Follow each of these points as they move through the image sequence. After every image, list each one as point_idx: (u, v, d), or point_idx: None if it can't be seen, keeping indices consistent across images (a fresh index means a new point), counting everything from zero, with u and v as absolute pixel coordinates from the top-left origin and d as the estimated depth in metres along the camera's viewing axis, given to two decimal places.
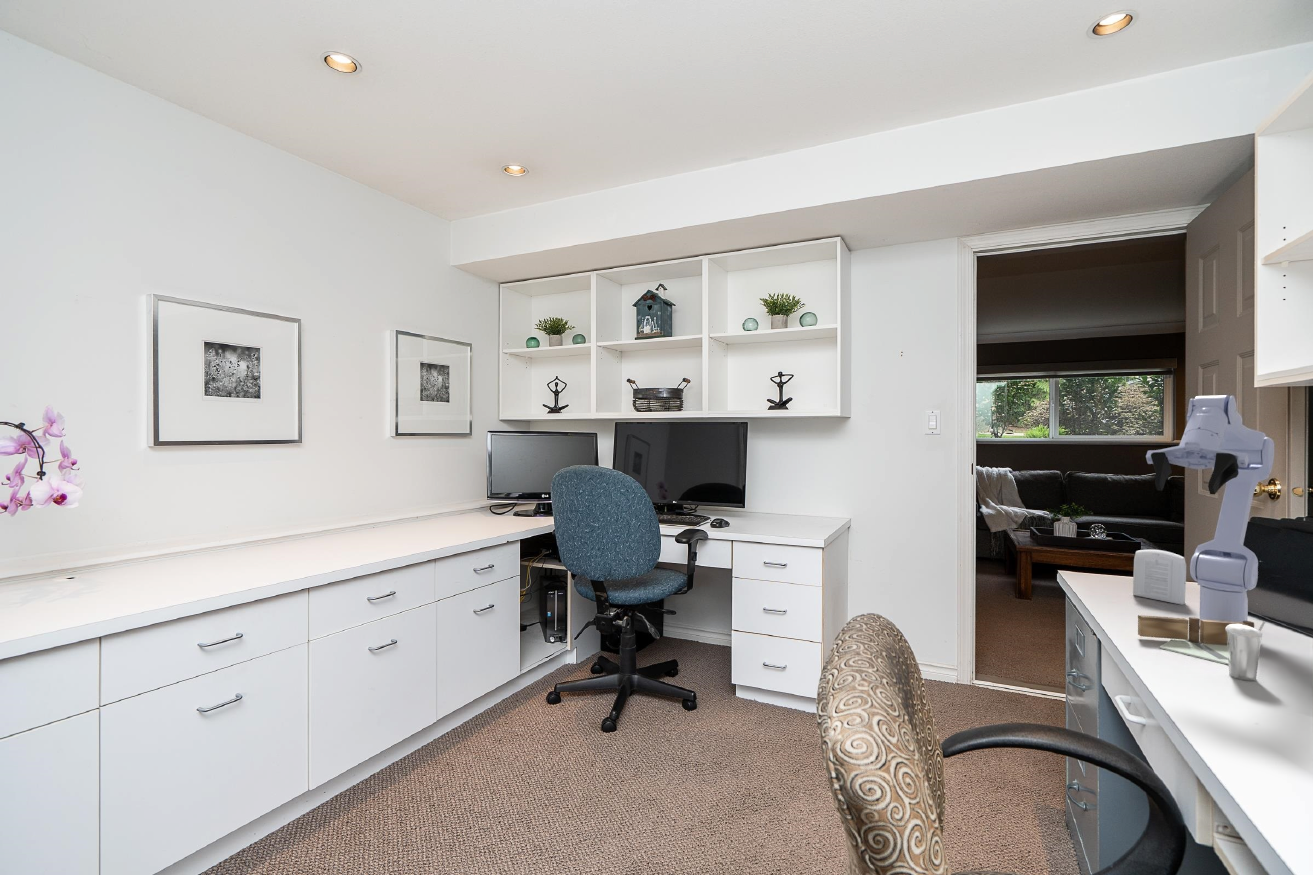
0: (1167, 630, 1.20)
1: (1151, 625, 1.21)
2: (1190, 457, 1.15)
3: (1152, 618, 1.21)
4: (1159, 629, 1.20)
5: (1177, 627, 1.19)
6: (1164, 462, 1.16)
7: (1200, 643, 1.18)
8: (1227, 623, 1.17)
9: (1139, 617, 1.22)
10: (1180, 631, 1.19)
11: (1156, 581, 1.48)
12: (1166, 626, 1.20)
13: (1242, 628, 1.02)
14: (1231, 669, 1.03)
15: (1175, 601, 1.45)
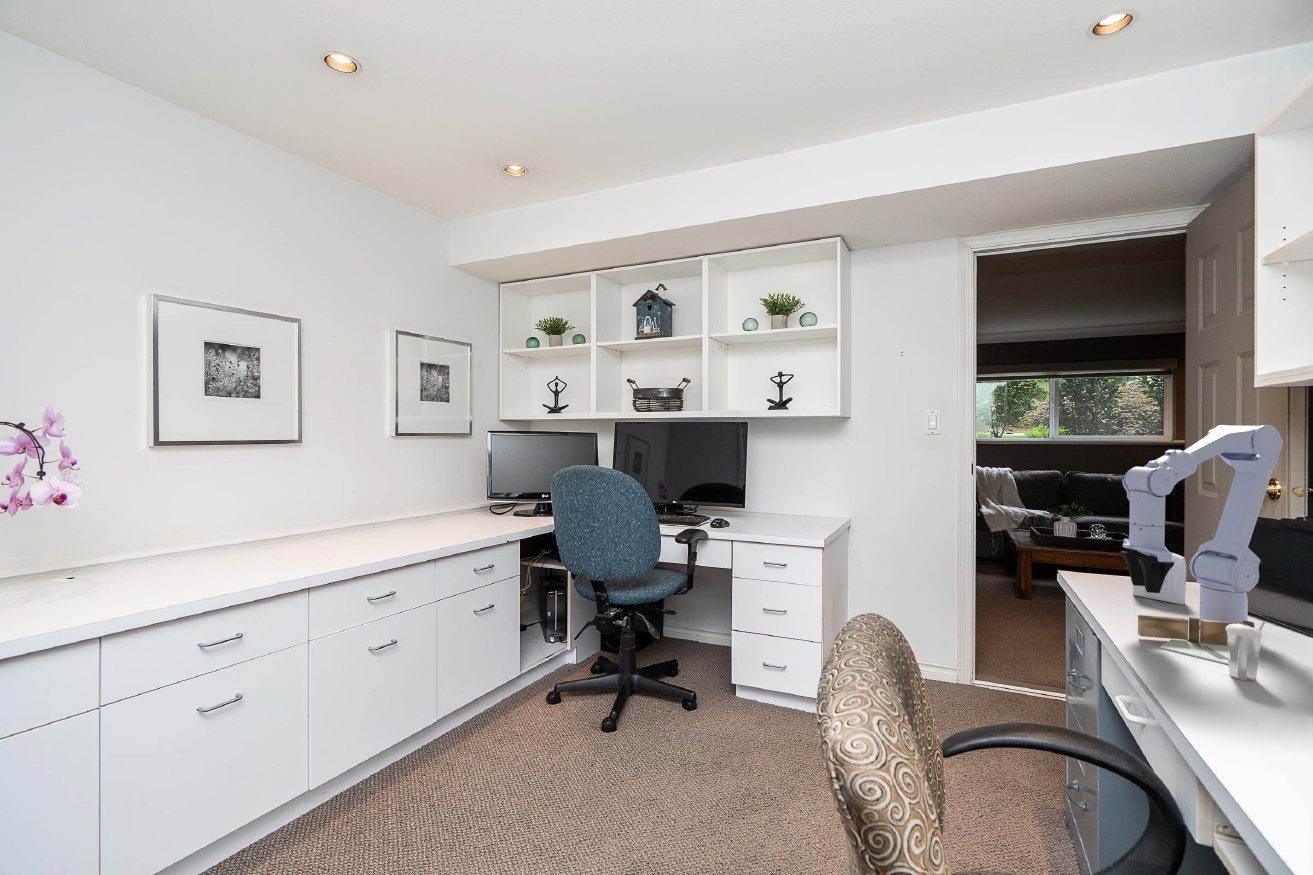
0: (1167, 630, 1.20)
1: (1151, 625, 1.21)
2: None
3: (1152, 618, 1.21)
4: (1159, 629, 1.20)
5: (1177, 627, 1.19)
6: (1130, 560, 1.27)
7: (1200, 643, 1.18)
8: (1227, 623, 1.17)
9: (1139, 617, 1.22)
10: (1180, 631, 1.19)
11: None
12: (1166, 626, 1.20)
13: (1242, 628, 1.02)
14: (1231, 669, 1.03)
15: (1175, 601, 1.45)
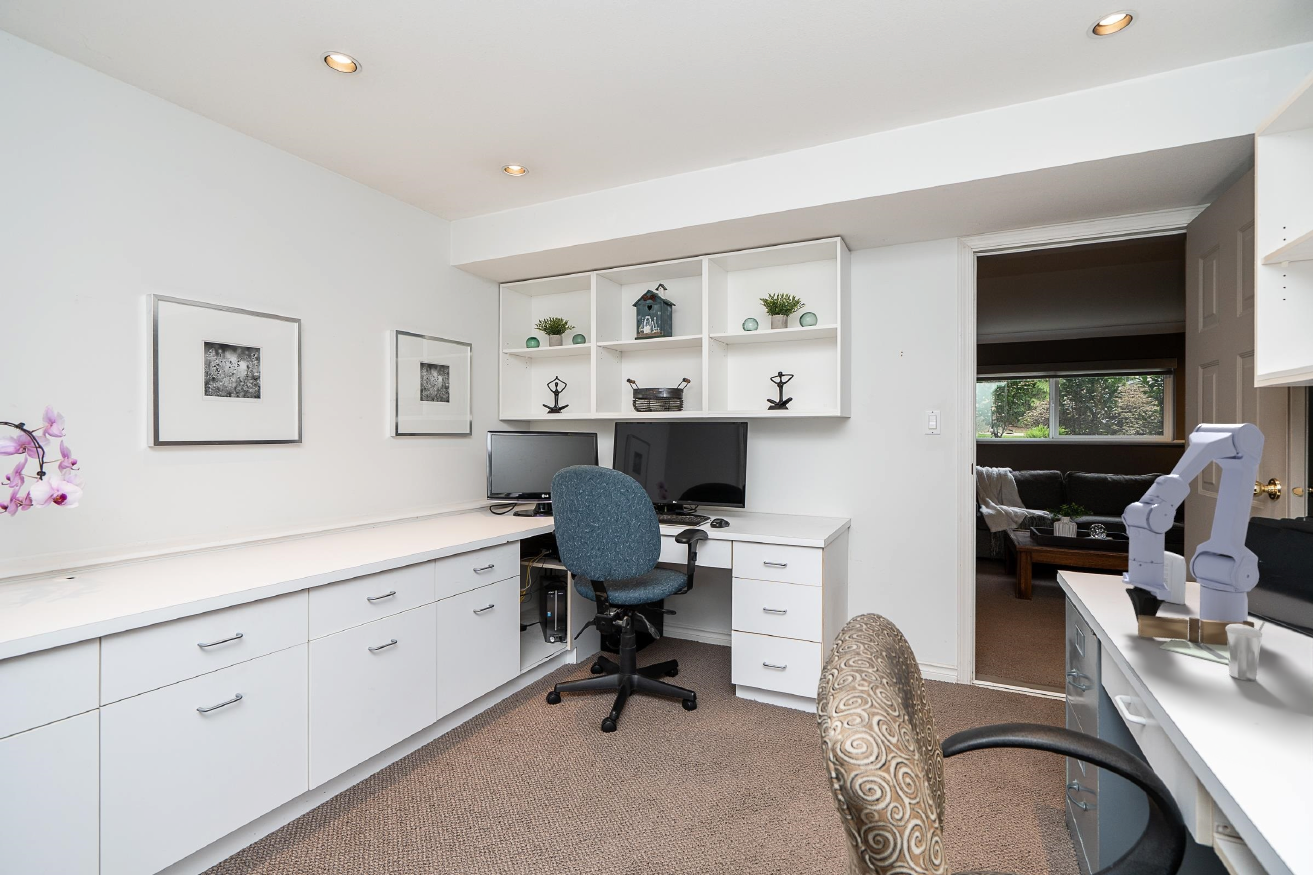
0: (1167, 630, 1.20)
1: (1151, 625, 1.21)
2: None
3: (1152, 618, 1.21)
4: (1159, 629, 1.20)
5: (1177, 627, 1.19)
6: None
7: (1200, 643, 1.18)
8: (1227, 623, 1.17)
9: (1139, 617, 1.22)
10: (1180, 631, 1.19)
11: None
12: (1166, 626, 1.20)
13: (1242, 628, 1.02)
14: (1231, 669, 1.03)
15: (1175, 601, 1.45)
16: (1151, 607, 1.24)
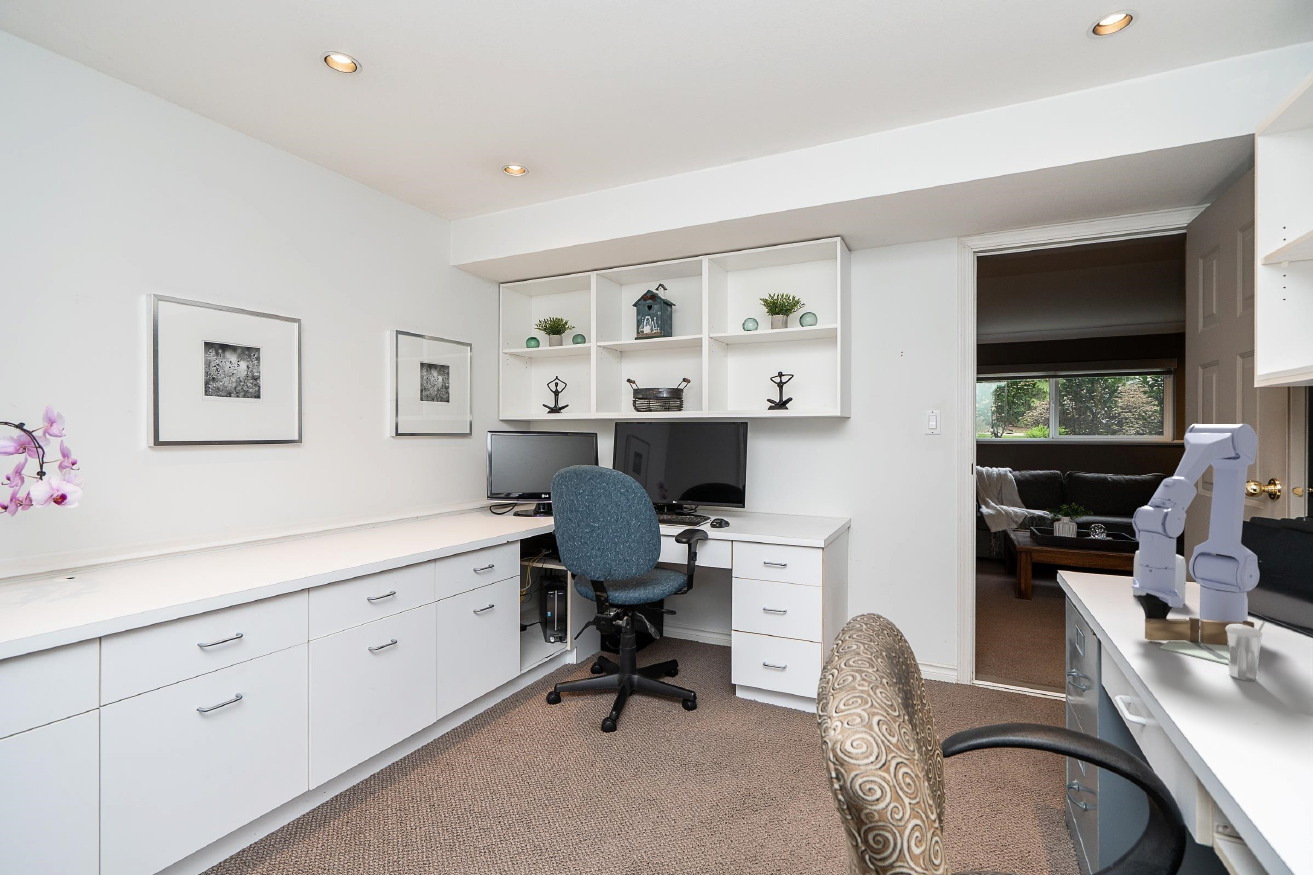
0: (1172, 632, 1.19)
1: (1158, 628, 1.19)
2: None
3: (1159, 621, 1.19)
4: (1165, 632, 1.19)
5: (1181, 628, 1.19)
6: None
7: (1200, 643, 1.18)
8: (1227, 623, 1.17)
9: (1147, 621, 1.19)
10: (1183, 632, 1.19)
11: None
12: (1171, 628, 1.19)
13: (1242, 628, 1.02)
14: (1231, 669, 1.03)
15: None
16: (1160, 613, 1.21)
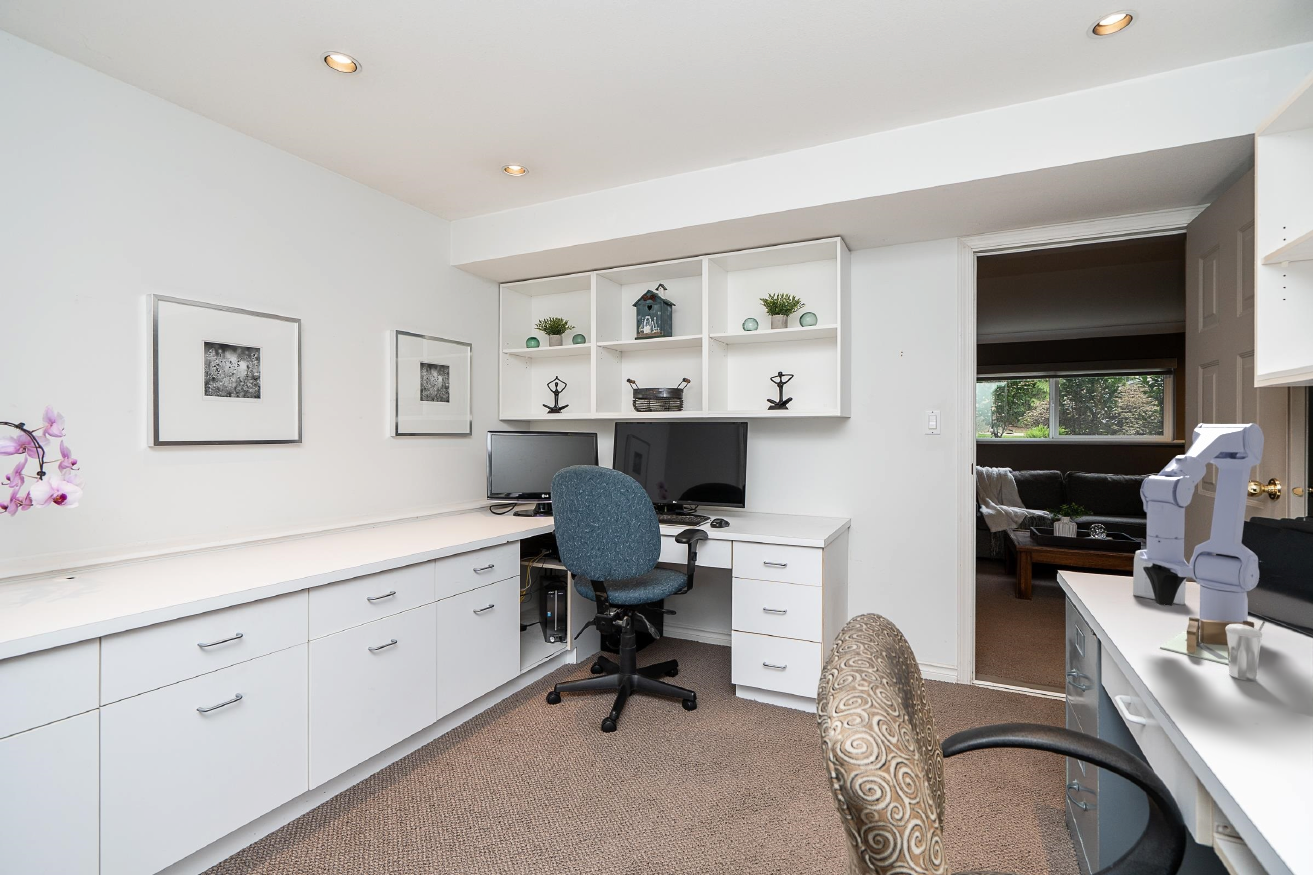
0: (1196, 638, 1.15)
1: None
2: None
3: (1196, 630, 1.14)
4: (1196, 639, 1.14)
5: (1197, 632, 1.17)
6: None
7: (1200, 643, 1.18)
8: (1227, 623, 1.17)
9: (1190, 632, 1.13)
10: (1197, 635, 1.17)
11: None
12: (1196, 634, 1.15)
13: (1242, 628, 1.02)
14: (1231, 669, 1.03)
15: (1175, 601, 1.45)
16: (1171, 586, 1.17)
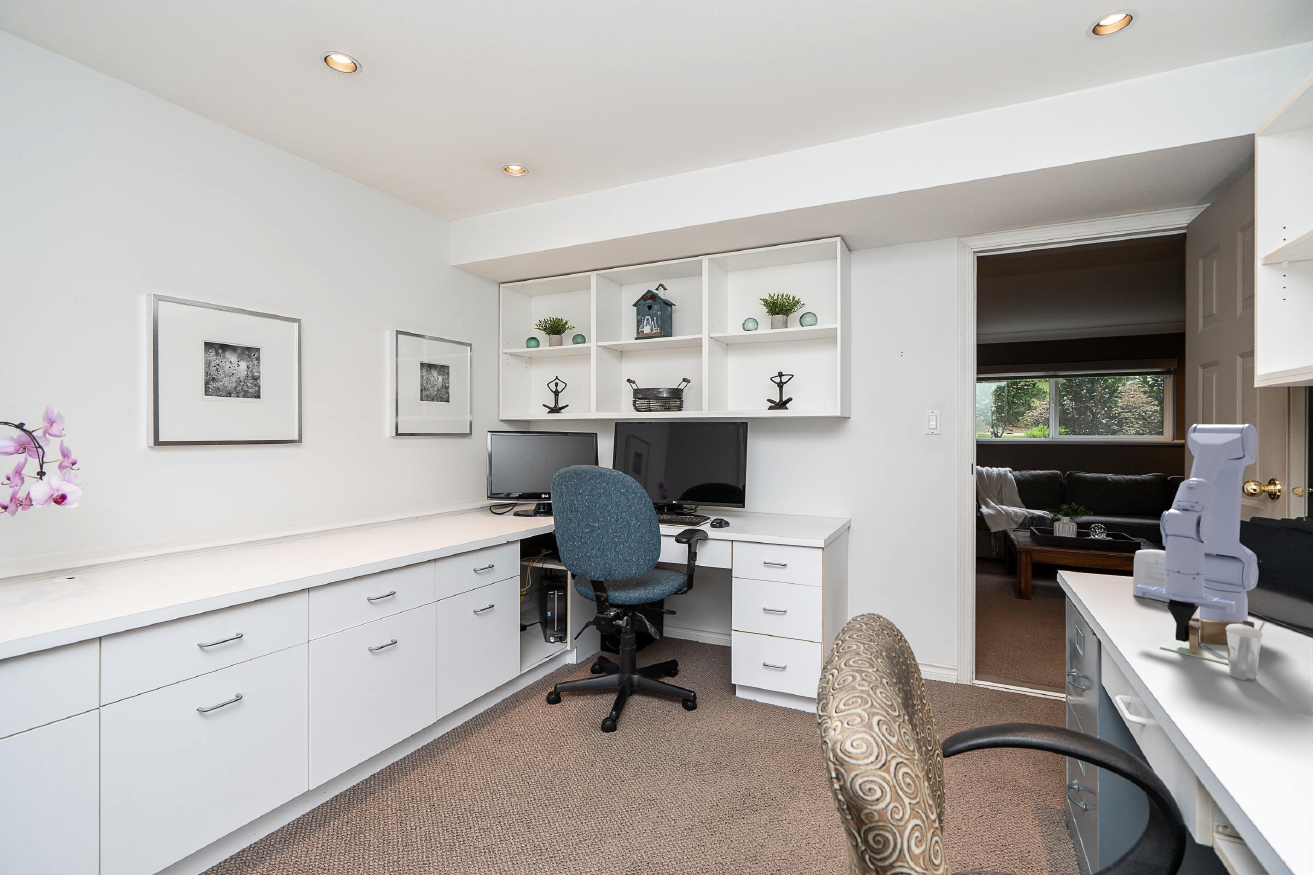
0: None
1: None
2: None
3: None
4: None
5: None
6: None
7: (1200, 643, 1.18)
8: (1227, 623, 1.17)
9: (1193, 633, 1.12)
10: None
11: (1156, 581, 1.48)
12: None
13: (1242, 628, 1.02)
14: (1231, 669, 1.03)
15: None
16: None
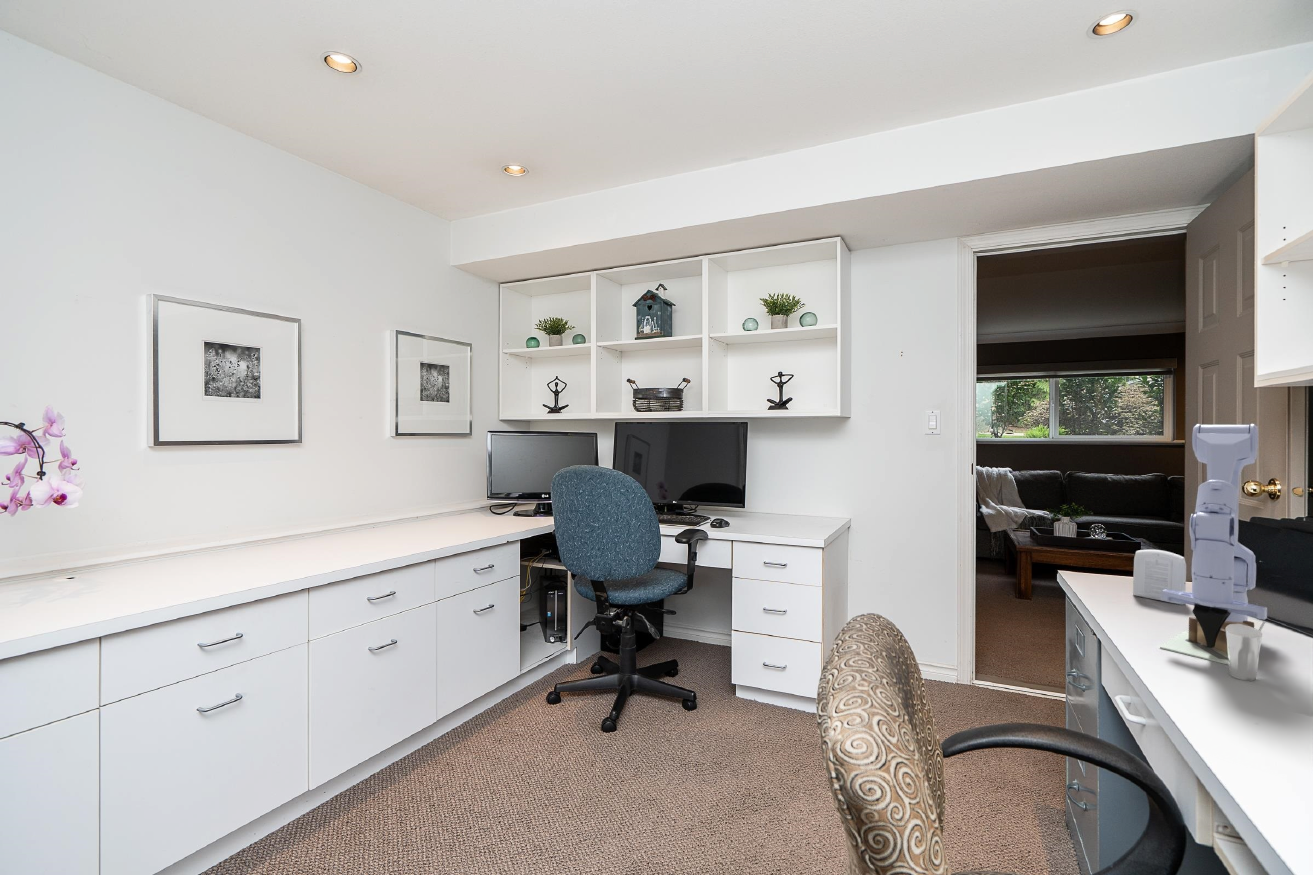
0: None
1: None
2: None
3: None
4: None
5: None
6: None
7: (1200, 643, 1.18)
8: (1227, 623, 1.17)
9: None
10: None
11: (1156, 581, 1.48)
12: None
13: (1242, 628, 1.02)
14: (1231, 669, 1.03)
15: None
16: None
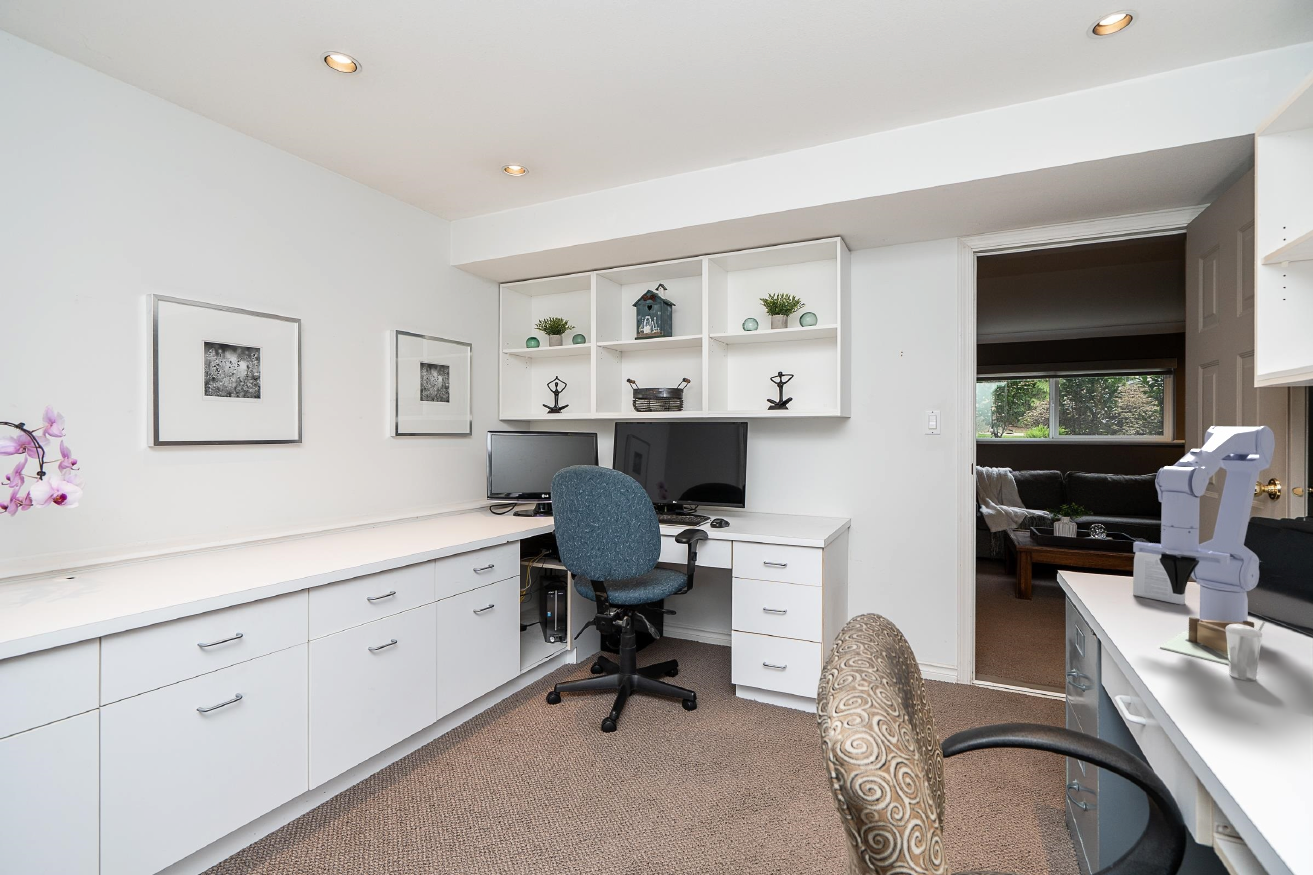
0: None
1: None
2: None
3: None
4: None
5: None
6: (1175, 568, 1.19)
7: (1200, 643, 1.18)
8: (1227, 623, 1.17)
9: None
10: None
11: (1156, 581, 1.48)
12: None
13: (1242, 628, 1.02)
14: (1231, 669, 1.03)
15: (1175, 601, 1.45)
16: None
